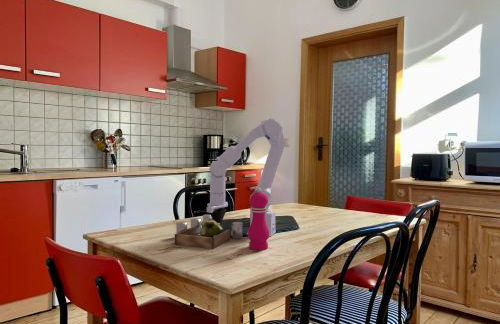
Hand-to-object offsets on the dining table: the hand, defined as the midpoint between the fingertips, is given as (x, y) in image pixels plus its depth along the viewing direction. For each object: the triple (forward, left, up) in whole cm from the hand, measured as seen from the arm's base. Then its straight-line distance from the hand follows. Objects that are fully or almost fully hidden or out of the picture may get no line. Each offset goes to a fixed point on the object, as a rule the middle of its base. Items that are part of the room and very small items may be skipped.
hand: (217, 228), depth 144 cm
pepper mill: (-20, +11, -3) cm, 23 cm away
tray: (0, +10, -2) cm, 11 cm away
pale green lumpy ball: (0, +6, -2) cm, 6 cm away
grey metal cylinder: (+8, -8, -2) cm, 12 cm away
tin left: (-9, +1, -2) cm, 9 cm away
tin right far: (+10, +8, -2) cm, 14 cm away
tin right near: (+9, 0, -2) cm, 9 cm away
